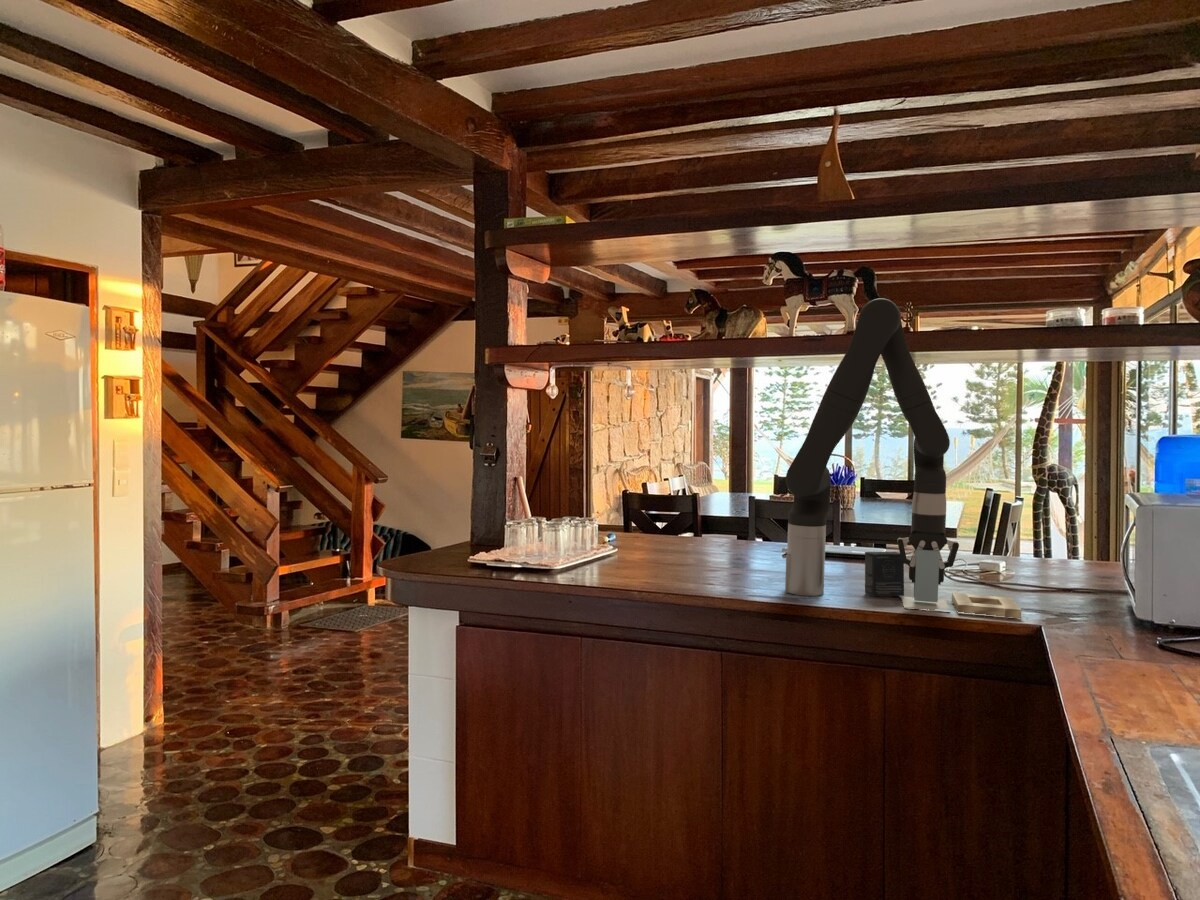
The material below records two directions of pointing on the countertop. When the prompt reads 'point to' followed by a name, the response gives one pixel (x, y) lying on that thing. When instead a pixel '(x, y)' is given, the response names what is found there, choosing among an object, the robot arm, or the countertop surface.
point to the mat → (923, 604)
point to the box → (884, 574)
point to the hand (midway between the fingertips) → (926, 582)
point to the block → (926, 575)
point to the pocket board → (986, 605)
